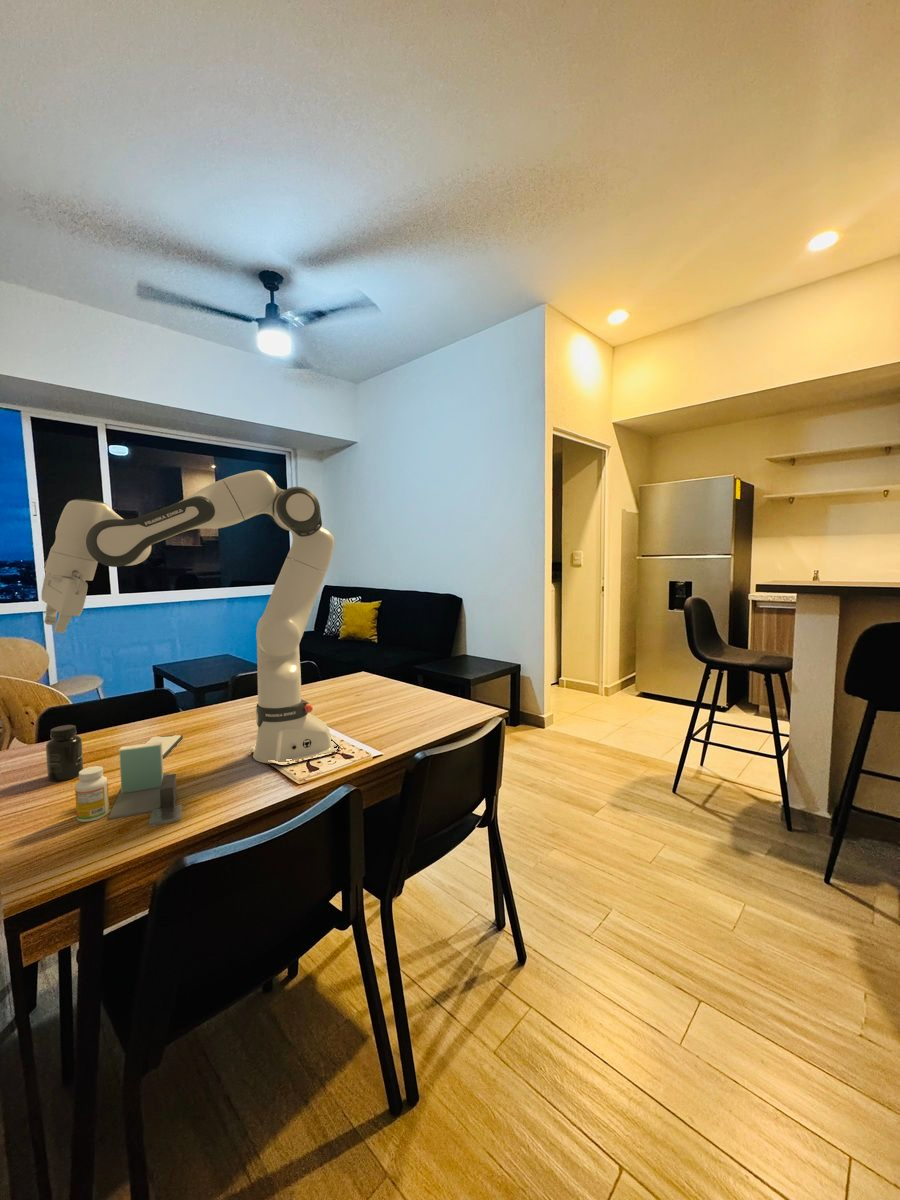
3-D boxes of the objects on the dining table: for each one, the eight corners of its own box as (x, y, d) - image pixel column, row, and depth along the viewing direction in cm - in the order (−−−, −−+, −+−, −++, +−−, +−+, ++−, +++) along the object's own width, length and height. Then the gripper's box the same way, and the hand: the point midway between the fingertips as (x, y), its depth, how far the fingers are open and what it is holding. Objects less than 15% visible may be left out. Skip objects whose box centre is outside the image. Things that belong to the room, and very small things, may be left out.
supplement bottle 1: (88, 774, 118) (85, 726, 117) (53, 785, 113) (50, 735, 112) (77, 767, 122) (74, 721, 121) (43, 777, 117) (40, 729, 116)
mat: (168, 773, 119) (168, 772, 119) (159, 810, 102) (159, 808, 102) (125, 780, 115) (125, 779, 115) (108, 819, 98) (108, 817, 98)
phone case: (163, 762, 127) (184, 739, 143) (162, 756, 127) (184, 734, 143) (126, 765, 126) (151, 741, 141) (125, 759, 125) (151, 736, 141)
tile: (163, 782, 113) (161, 741, 112) (162, 787, 111) (160, 744, 110) (123, 789, 110) (120, 746, 109) (121, 794, 108) (118, 750, 107)
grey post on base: (156, 798, 107) (155, 776, 106) (184, 793, 109) (183, 772, 109) (148, 827, 95) (147, 802, 95) (180, 820, 98) (179, 797, 97)
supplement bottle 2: (88, 809, 102) (86, 764, 101) (115, 808, 102) (112, 764, 102) (70, 823, 97) (67, 776, 96) (98, 822, 97) (95, 775, 96)
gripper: (101, 577, 105) (83, 639, 104) (76, 566, 118) (60, 622, 117) (65, 570, 100) (46, 635, 99) (43, 560, 113) (27, 617, 112)
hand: (54, 628), depth 108 cm, fingers open, 8 cm apart
